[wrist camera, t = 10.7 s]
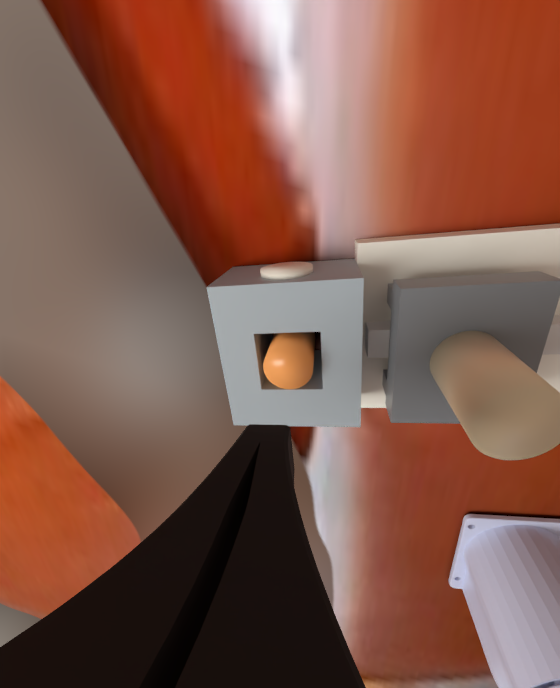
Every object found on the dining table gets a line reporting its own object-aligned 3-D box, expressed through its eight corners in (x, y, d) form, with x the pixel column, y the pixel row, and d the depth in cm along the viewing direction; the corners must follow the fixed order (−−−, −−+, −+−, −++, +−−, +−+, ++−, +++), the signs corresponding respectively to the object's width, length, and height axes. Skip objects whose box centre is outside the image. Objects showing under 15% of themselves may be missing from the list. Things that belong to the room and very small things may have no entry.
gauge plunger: (316, 355, 18) (314, 389, 15) (276, 356, 18) (266, 389, 15) (314, 317, 17) (311, 345, 14) (271, 319, 17) (260, 346, 14)
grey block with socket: (353, 381, 20) (360, 427, 16) (250, 382, 21) (233, 425, 17) (354, 252, 17) (363, 270, 13) (232, 261, 18) (205, 280, 14)
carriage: (492, 391, 17) (590, 504, 11) (381, 391, 18) (411, 495, 12) (523, 265, 14) (679, 321, 8) (388, 273, 15) (433, 329, 9)
